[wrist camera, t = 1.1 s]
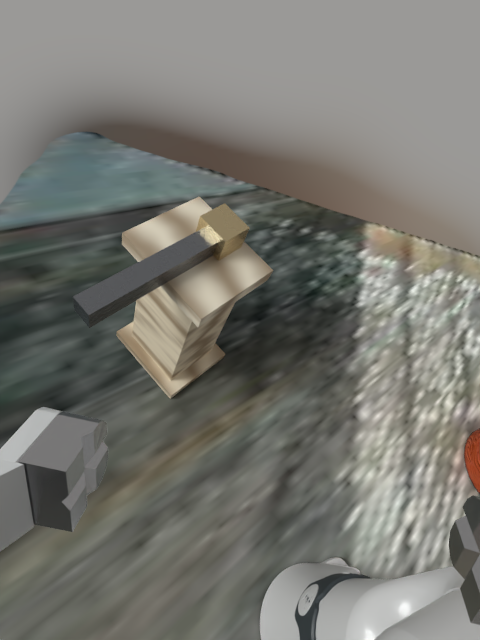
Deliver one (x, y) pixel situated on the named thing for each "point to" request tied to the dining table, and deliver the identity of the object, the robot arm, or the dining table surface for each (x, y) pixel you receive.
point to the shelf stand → (185, 301)
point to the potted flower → (473, 458)
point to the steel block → (163, 265)
